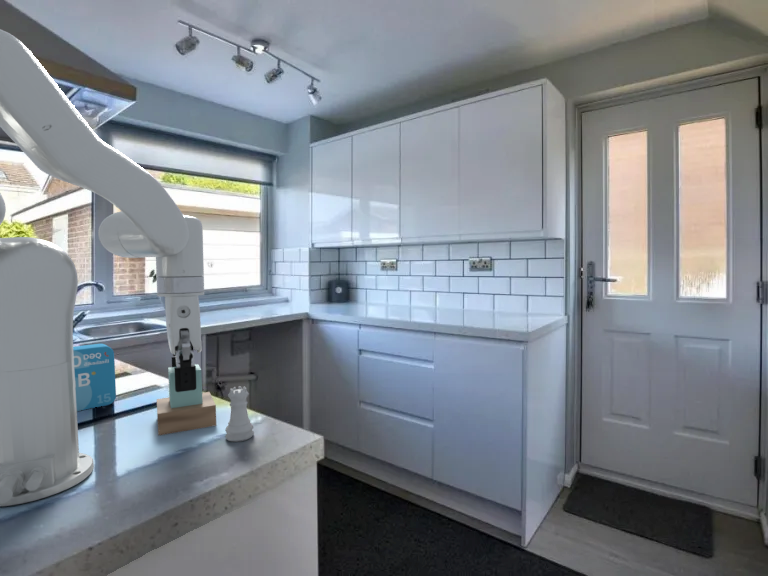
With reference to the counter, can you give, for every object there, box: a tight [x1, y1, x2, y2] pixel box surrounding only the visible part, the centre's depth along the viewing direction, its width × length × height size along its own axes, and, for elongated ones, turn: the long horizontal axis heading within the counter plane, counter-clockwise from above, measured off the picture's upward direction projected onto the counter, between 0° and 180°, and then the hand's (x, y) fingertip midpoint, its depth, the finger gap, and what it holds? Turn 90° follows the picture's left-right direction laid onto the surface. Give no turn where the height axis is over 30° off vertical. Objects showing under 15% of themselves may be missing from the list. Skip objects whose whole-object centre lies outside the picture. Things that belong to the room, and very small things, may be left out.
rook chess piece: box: [224, 385, 255, 443], centre depth 71 cm, size 4×4×8 cm
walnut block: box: [156, 391, 217, 436], centre depth 79 cm, size 9×9×4 cm
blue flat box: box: [73, 343, 117, 412], centre depth 87 cm, size 12×4×12 cm, turn 133°
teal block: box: [167, 363, 203, 408], centre depth 78 cm, size 5×5×6 cm
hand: (183, 383), depth 78 cm, fingers open, 9 cm apart
